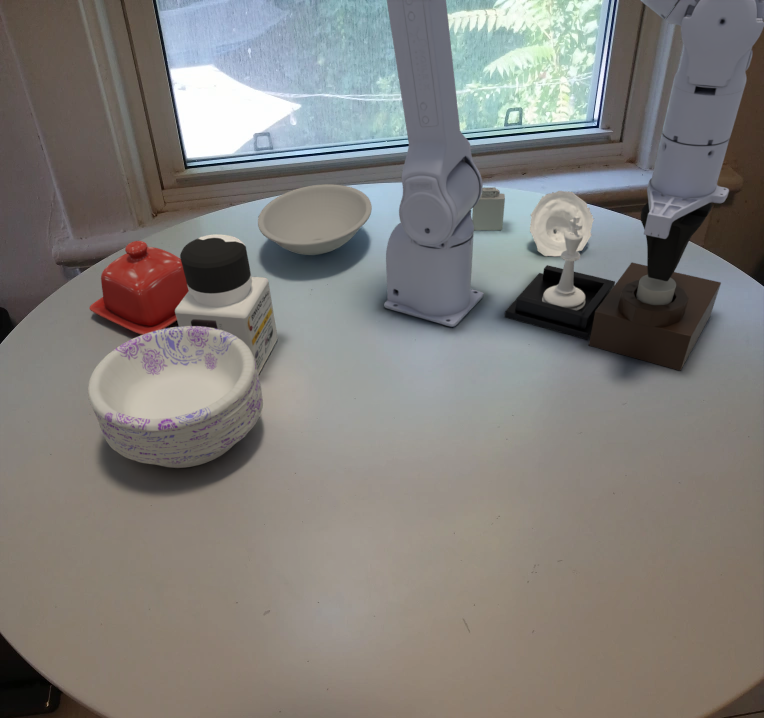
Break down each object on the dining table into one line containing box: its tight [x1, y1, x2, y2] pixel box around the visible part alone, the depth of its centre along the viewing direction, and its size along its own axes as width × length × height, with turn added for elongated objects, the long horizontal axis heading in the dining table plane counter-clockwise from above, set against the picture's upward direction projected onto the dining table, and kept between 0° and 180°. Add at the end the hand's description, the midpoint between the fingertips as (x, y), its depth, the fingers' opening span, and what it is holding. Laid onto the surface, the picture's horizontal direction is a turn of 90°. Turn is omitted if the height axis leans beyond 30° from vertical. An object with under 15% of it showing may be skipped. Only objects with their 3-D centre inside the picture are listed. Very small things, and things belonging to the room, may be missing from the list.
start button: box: [636, 275, 676, 305], centre depth 75 cm, size 4×4×2 cm
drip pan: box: [504, 264, 616, 340], centre depth 85 cm, size 10×10×2 cm
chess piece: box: [542, 216, 585, 310], centre depth 81 cm, size 5×5×10 cm
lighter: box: [471, 187, 506, 231], centre depth 98 cm, size 7×2×8 cm, turn 86°
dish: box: [257, 183, 373, 256], centre depth 96 cm, size 18×14×5 cm
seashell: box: [529, 190, 595, 257], centre depth 95 cm, size 8×5×8 cm
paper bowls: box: [87, 326, 264, 469], centre depth 69 cm, size 15×15×8 cm
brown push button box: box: [588, 262, 722, 371], centre depth 79 cm, size 10×12×6 cm
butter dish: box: [89, 240, 189, 336], centre depth 86 cm, size 12×12×8 cm
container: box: [175, 233, 279, 375], centre depth 77 cm, size 8×8×13 cm
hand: (659, 276), depth 74 cm, fingers closed
